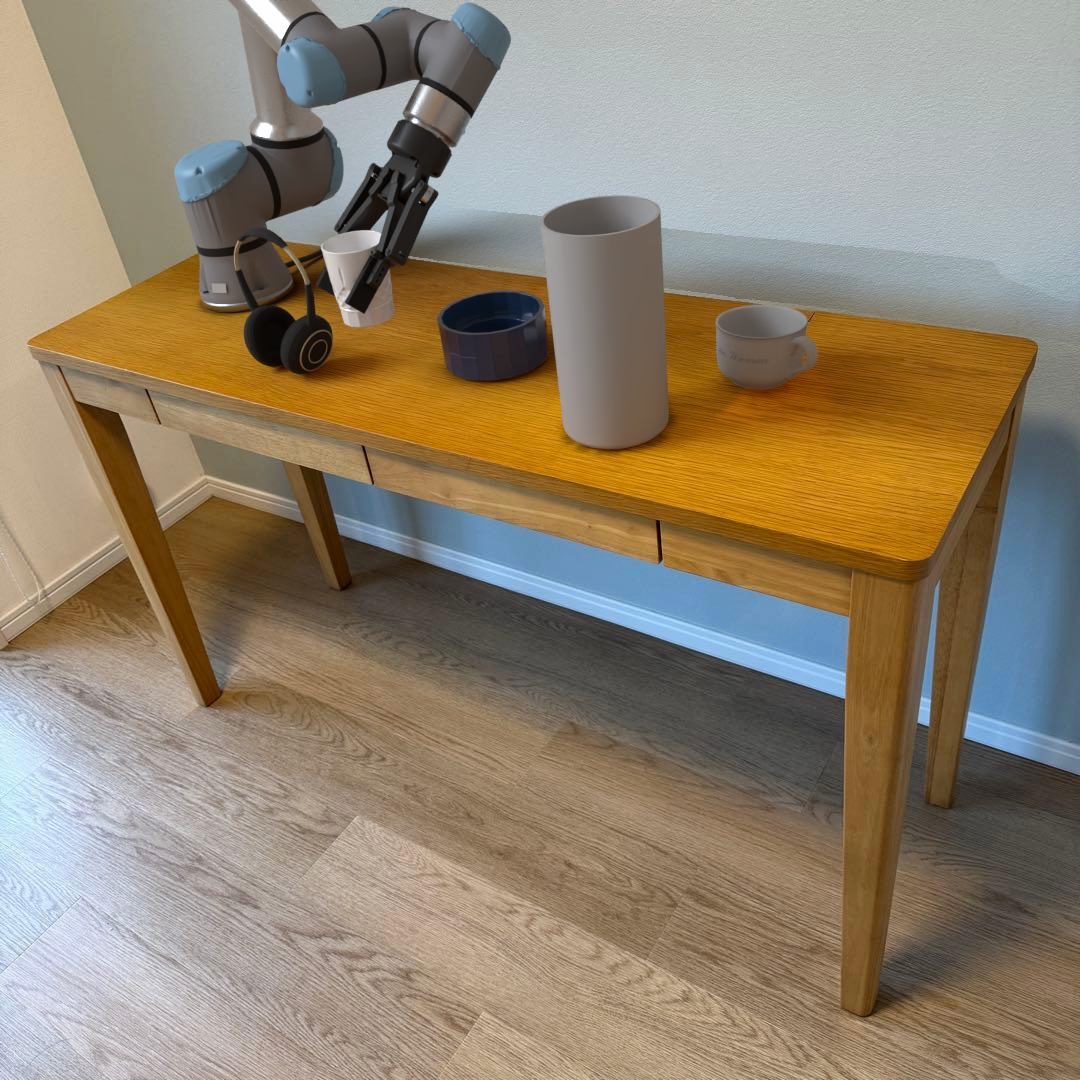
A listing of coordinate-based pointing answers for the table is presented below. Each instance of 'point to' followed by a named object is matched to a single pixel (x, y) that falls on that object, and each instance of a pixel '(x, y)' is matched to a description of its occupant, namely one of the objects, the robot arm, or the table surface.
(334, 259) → the white cup
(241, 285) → the headphones
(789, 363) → the teacup
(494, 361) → the navy blue bowl
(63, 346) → the table surface
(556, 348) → the cylinder vase
